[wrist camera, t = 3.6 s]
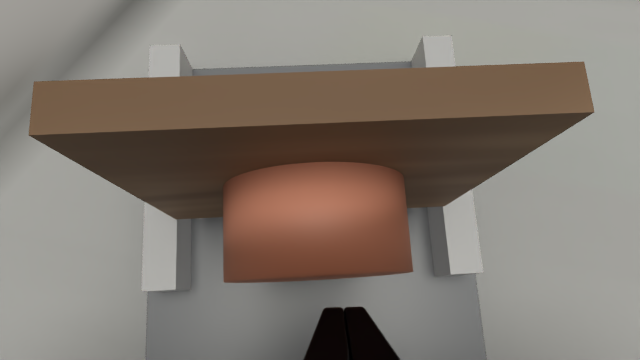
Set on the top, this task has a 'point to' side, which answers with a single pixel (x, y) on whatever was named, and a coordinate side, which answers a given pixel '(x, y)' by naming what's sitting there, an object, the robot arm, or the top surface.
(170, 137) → the press plate
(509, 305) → the top surface
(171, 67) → the press base
